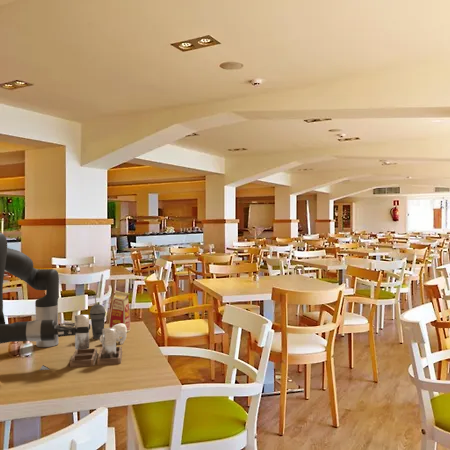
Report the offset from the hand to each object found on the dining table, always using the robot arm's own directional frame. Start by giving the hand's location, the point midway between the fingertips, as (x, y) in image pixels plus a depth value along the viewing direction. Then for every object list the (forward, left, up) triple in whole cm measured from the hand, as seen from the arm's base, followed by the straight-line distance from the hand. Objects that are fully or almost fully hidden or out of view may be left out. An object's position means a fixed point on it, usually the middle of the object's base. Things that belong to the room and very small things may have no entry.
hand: (89, 328), depth 180 cm
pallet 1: (-5, 0, -14) cm, 15 cm away
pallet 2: (-1, +8, -14) cm, 16 cm away
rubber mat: (-6, -11, -14) cm, 19 cm away
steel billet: (-1, -2, -7) cm, 8 cm away
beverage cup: (-39, +22, -14) cm, 47 cm away
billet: (+3, +6, -13) cm, 15 cm away
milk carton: (-45, +37, -14) cm, 60 cm away
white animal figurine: (-24, +22, -14) cm, 36 cm away
